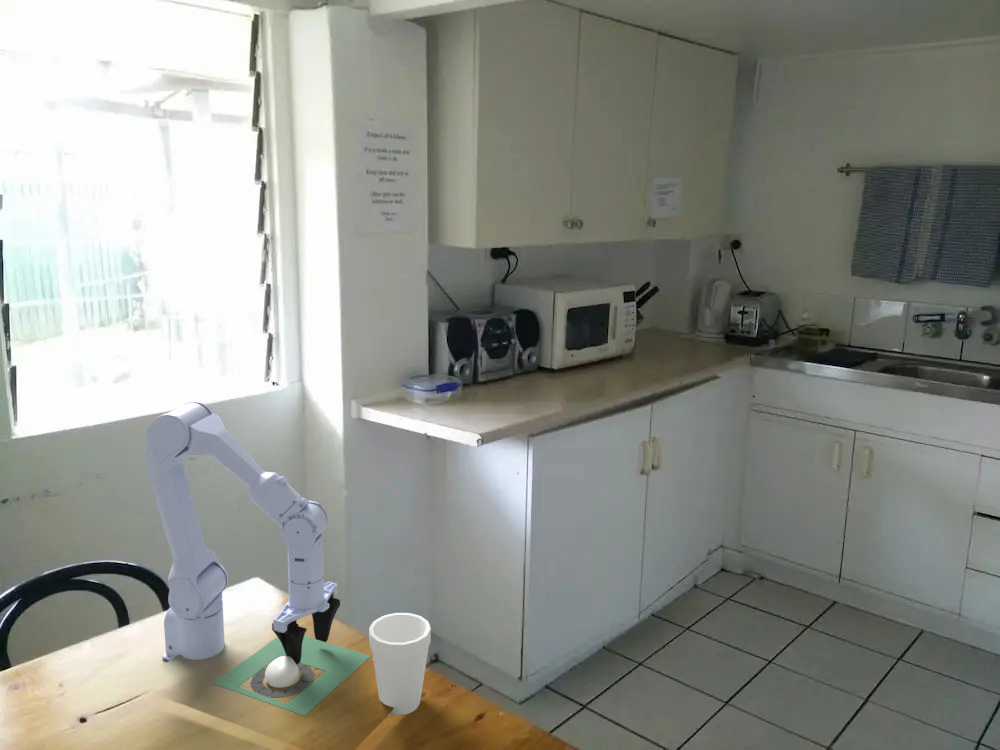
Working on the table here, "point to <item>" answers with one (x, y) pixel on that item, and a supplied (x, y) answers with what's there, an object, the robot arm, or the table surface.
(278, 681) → the white smooth pebble
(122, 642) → the table surface
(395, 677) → the foam cup
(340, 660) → the mat
